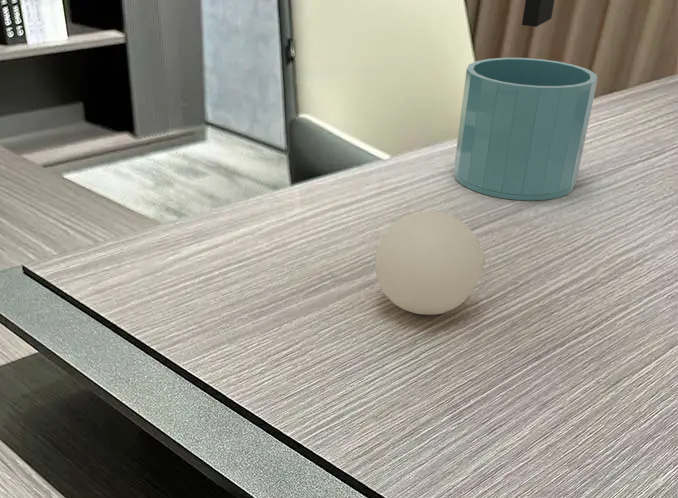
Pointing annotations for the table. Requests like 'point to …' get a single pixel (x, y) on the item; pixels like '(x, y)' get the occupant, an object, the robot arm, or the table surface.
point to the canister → (523, 127)
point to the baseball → (428, 262)
